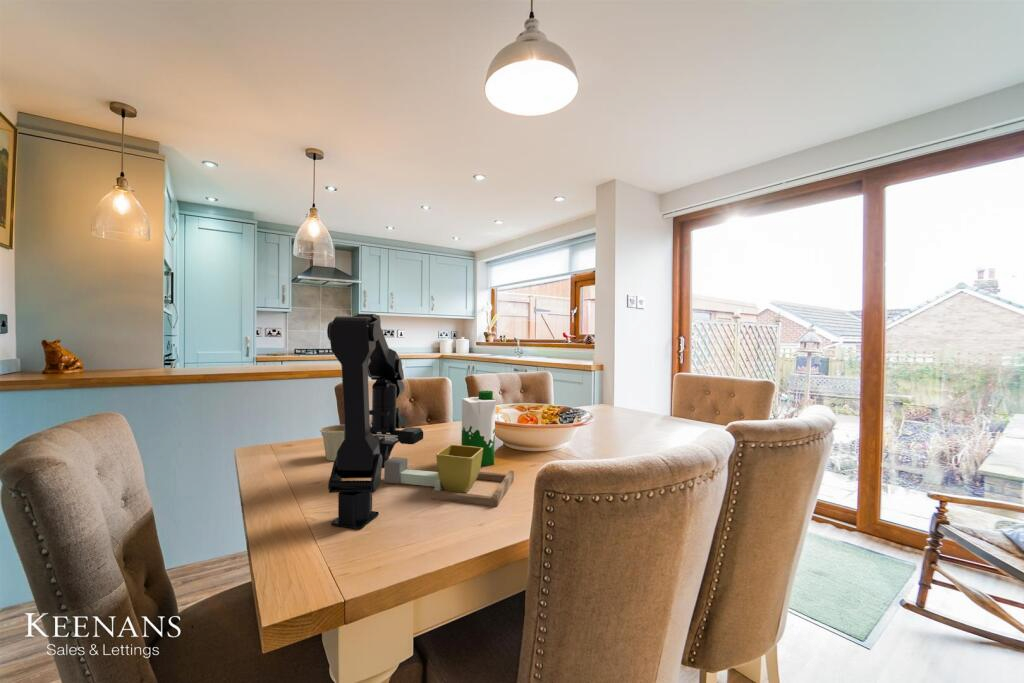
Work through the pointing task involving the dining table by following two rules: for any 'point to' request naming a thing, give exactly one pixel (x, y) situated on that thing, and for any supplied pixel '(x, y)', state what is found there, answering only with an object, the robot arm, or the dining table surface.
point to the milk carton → (480, 424)
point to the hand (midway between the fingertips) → (383, 467)
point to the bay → (480, 499)
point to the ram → (409, 474)
